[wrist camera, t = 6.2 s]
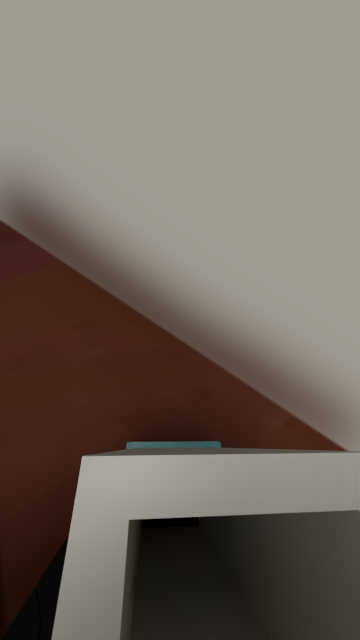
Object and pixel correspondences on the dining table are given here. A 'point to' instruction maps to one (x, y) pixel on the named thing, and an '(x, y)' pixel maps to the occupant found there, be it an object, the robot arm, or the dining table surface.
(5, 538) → the dining table surface
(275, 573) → the sleeve
